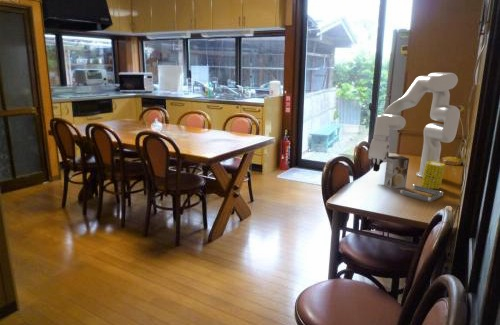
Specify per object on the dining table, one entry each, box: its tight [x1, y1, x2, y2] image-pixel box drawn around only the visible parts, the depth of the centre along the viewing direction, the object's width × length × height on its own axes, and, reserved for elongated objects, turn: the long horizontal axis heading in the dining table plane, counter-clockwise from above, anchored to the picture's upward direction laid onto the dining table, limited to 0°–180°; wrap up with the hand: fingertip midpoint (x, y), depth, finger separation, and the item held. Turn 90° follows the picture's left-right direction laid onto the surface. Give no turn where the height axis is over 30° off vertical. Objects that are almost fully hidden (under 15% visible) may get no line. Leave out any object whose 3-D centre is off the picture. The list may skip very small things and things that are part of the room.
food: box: [420, 161, 446, 190], centre depth 196 cm, size 15×12×10 cm
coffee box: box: [383, 155, 410, 189], centre depth 196 cm, size 9×6×16 cm
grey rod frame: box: [399, 184, 444, 203], centre depth 185 cm, size 15×15×2 cm
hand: (376, 170), depth 204 cm, fingers closed
